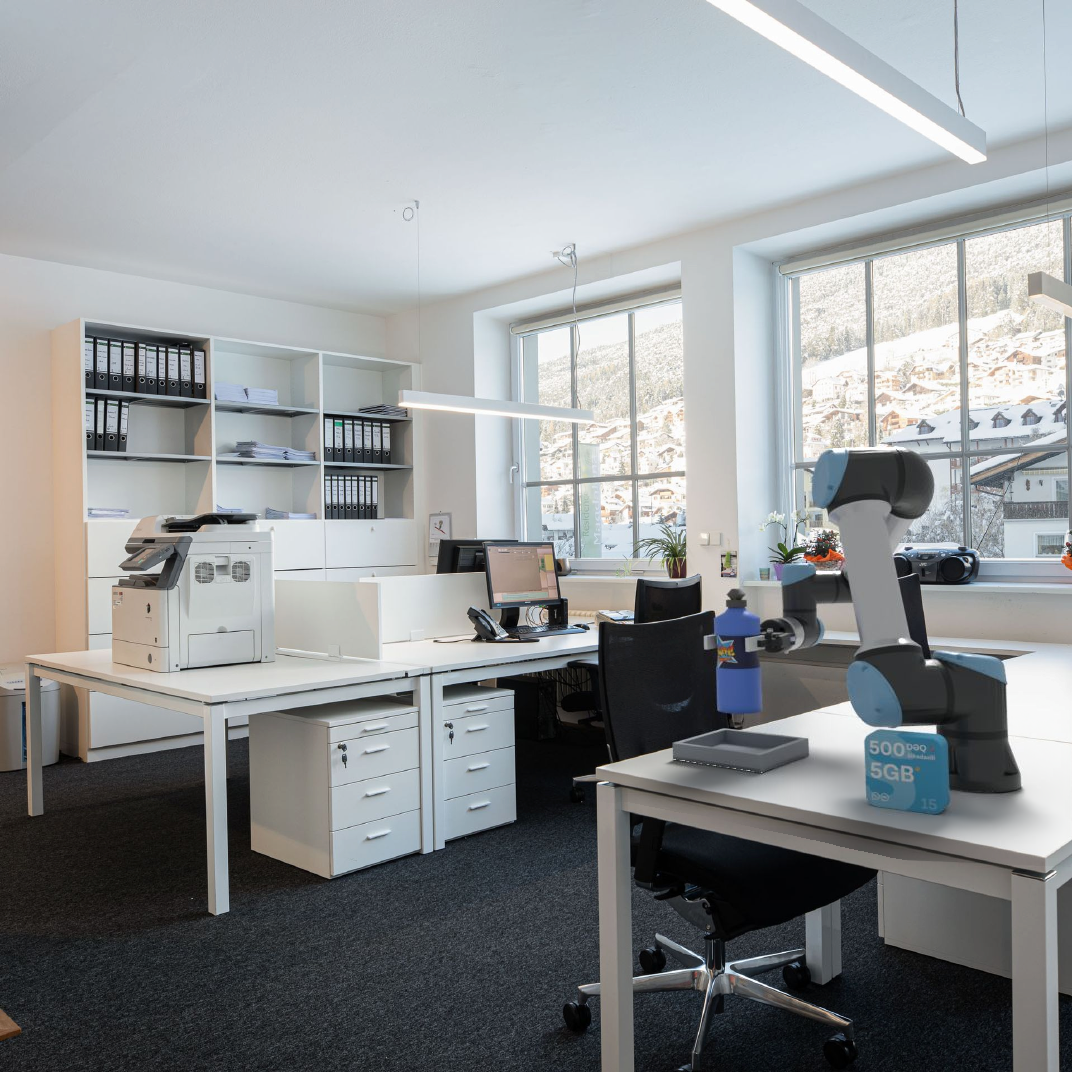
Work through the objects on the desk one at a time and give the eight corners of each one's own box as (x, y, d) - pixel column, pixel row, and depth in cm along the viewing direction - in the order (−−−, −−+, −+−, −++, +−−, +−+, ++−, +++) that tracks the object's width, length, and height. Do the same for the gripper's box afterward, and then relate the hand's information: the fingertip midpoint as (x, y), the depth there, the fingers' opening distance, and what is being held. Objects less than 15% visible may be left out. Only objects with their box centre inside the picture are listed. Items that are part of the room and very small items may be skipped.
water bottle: (737, 715, 184) (733, 590, 185) (707, 709, 193) (703, 589, 193) (772, 710, 189) (768, 588, 189) (741, 704, 197) (738, 587, 198)
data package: (866, 805, 152) (863, 732, 152) (874, 799, 156) (871, 728, 156) (943, 816, 145) (940, 739, 145) (950, 809, 149) (947, 734, 149)
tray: (760, 773, 176) (760, 755, 176) (673, 760, 190) (672, 743, 190) (808, 755, 191) (808, 738, 191) (724, 744, 204) (723, 728, 205)
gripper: (826, 654, 197) (775, 665, 180) (736, 649, 211) (681, 659, 195) (825, 619, 197) (773, 627, 180) (735, 617, 212) (680, 623, 195)
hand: (726, 643), depth 188 cm, fingers closed on water bottle, 9 cm apart
